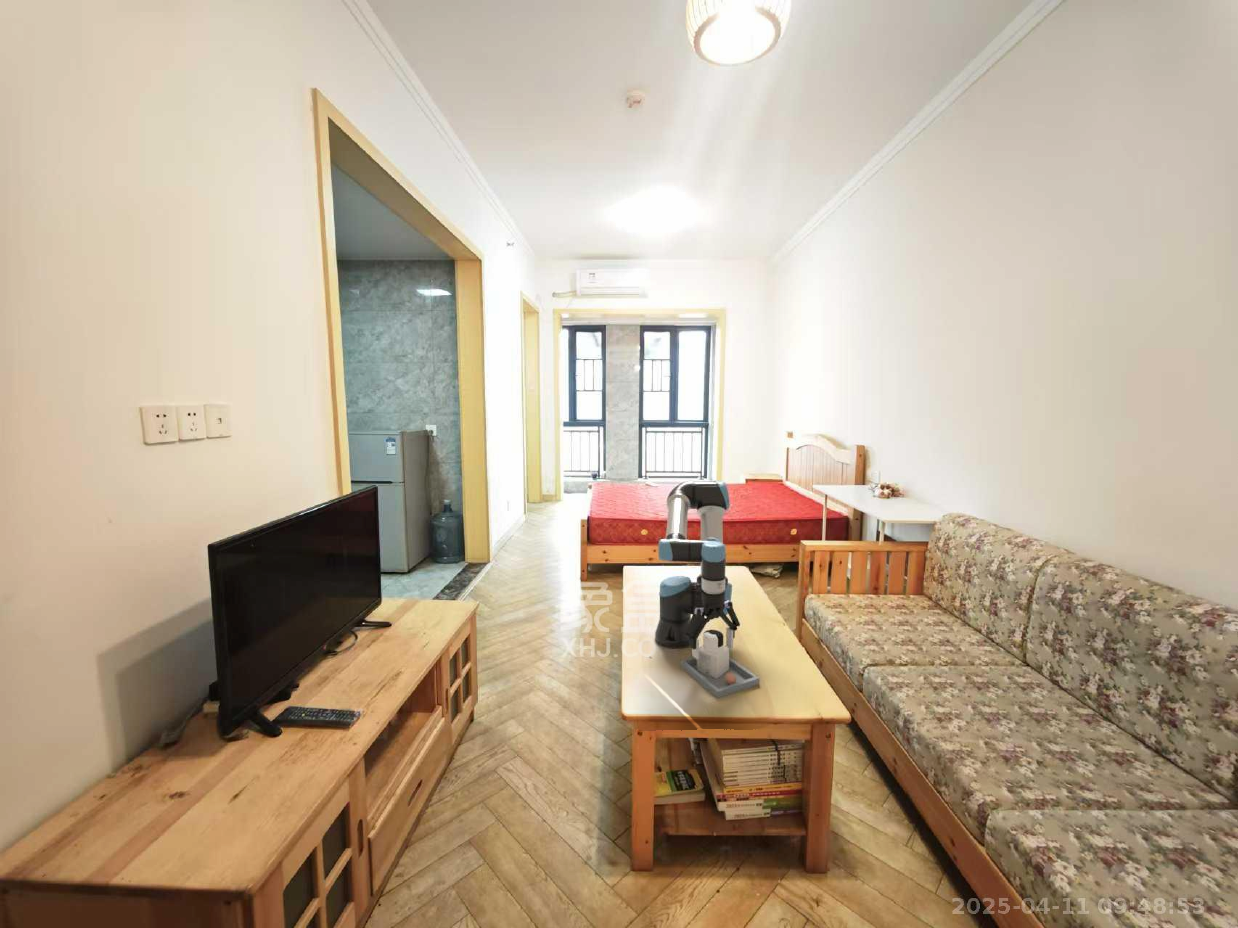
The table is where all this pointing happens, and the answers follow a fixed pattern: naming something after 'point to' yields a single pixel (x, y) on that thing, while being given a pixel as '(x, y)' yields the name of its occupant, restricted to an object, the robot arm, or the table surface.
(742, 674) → the tray
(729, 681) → the ball
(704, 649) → the container
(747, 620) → the table surface
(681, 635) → the robot arm
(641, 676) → the table surface
